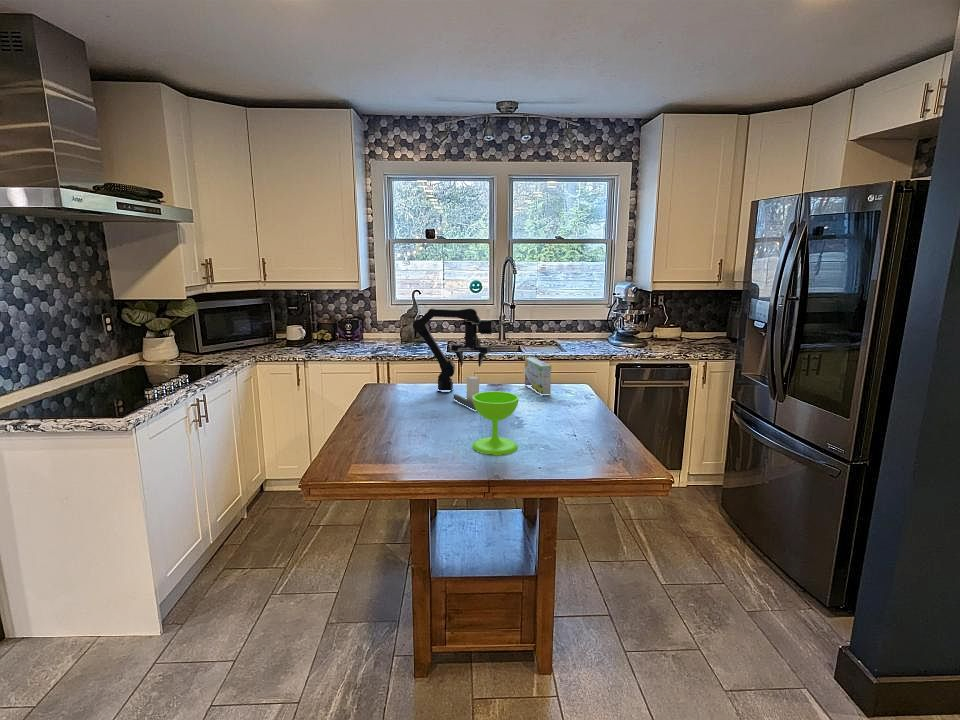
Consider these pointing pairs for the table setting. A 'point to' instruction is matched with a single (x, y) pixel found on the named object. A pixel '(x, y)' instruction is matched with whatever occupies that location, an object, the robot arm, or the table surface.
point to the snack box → (538, 375)
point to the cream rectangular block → (472, 387)
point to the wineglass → (495, 420)
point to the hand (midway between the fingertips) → (470, 365)
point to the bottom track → (464, 401)
